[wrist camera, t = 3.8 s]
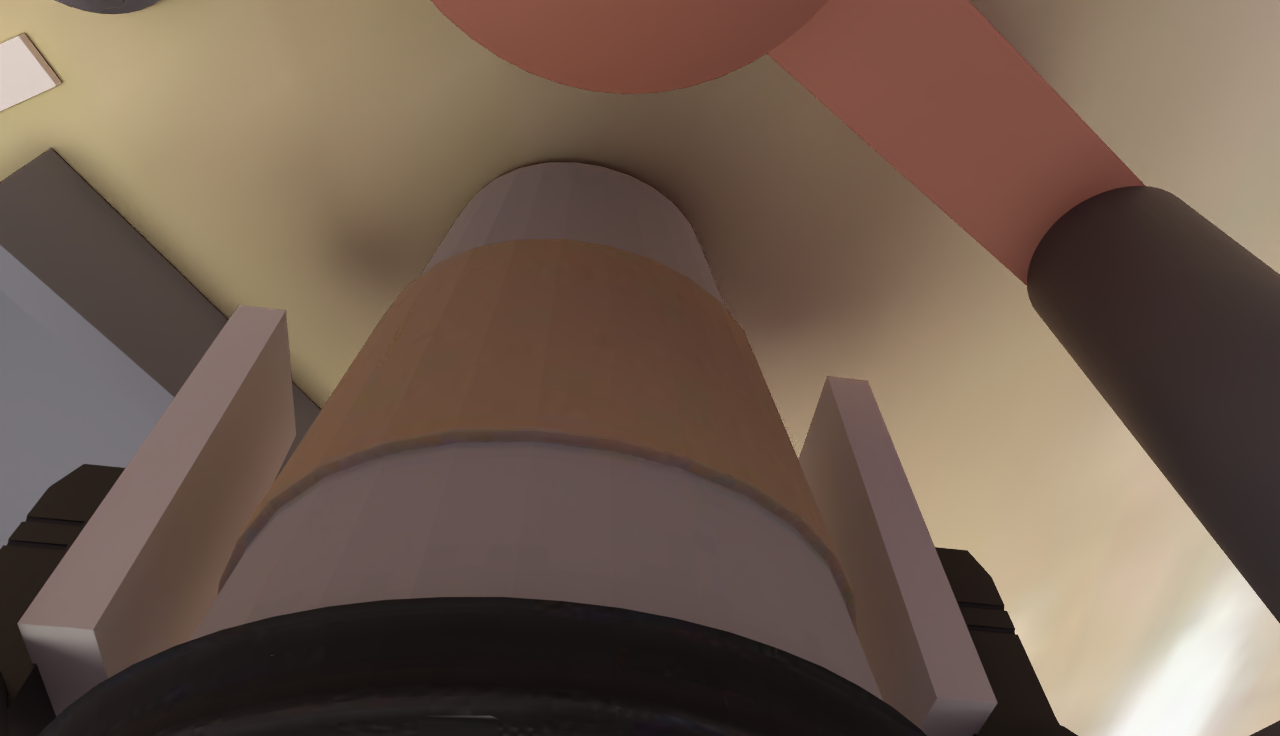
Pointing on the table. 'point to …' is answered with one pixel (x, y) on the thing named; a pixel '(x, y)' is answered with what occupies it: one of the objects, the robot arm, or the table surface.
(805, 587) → the coffee cup
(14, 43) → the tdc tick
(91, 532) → the robot arm
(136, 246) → the tray
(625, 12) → the crank
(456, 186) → the table surface
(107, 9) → the peg
